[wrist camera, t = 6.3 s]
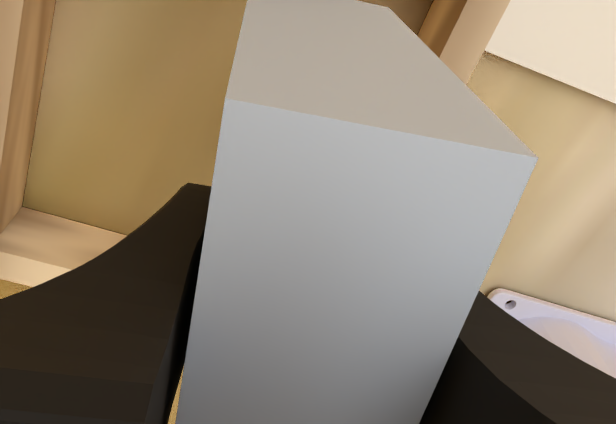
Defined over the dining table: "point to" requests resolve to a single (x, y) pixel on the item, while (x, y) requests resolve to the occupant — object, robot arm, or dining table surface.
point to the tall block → (342, 221)
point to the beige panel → (562, 41)
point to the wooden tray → (24, 106)
